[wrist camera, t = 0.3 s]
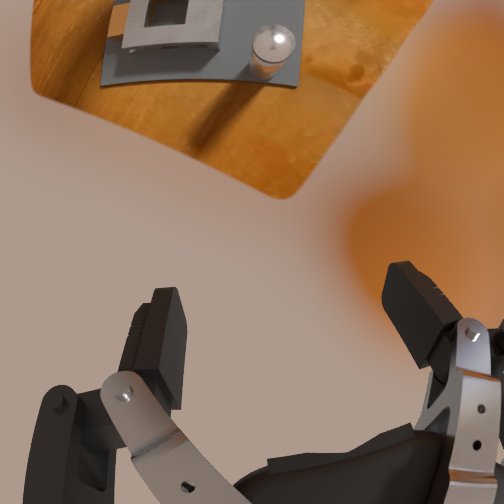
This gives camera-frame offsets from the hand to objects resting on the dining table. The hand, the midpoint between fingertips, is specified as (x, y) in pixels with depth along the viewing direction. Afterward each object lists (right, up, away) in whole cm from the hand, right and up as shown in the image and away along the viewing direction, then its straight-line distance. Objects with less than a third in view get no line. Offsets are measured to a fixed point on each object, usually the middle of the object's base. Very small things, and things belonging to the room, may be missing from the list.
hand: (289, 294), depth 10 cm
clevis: (-11, +31, +15) cm, 36 cm away
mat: (-8, +30, +17) cm, 35 cm away
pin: (0, +24, +19) cm, 31 cm away
